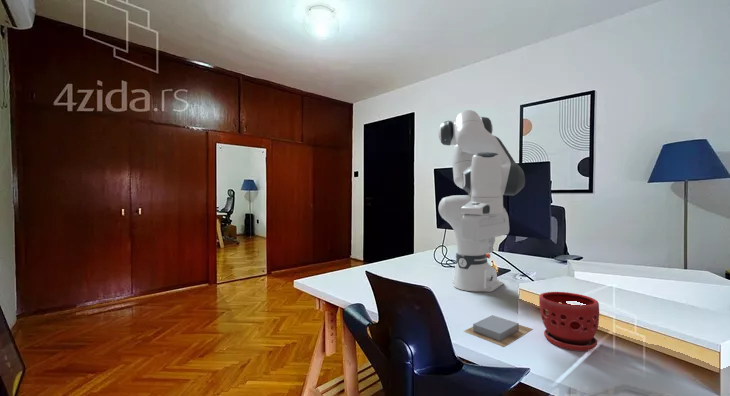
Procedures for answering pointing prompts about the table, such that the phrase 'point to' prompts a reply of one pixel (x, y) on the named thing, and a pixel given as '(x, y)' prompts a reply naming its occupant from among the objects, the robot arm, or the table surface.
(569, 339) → the plant pot
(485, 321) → the tile
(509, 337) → the cork mat
